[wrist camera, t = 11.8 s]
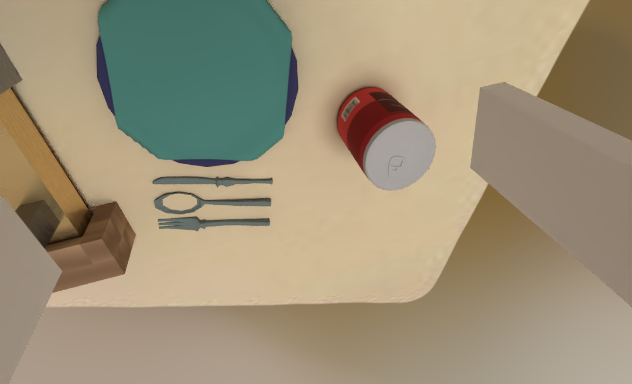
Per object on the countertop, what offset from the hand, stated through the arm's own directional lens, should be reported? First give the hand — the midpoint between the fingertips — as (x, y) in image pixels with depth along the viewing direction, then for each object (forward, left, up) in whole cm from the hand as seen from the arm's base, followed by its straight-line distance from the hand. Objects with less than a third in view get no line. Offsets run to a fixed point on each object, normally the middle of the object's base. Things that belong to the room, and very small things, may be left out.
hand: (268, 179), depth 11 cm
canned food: (+14, +13, -32) cm, 37 cm away
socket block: (+20, -24, -32) cm, 45 cm away
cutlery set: (+10, -6, -32) cm, 35 cm away
